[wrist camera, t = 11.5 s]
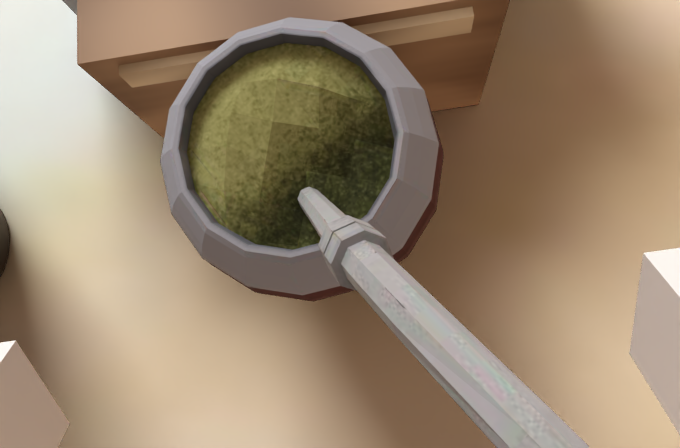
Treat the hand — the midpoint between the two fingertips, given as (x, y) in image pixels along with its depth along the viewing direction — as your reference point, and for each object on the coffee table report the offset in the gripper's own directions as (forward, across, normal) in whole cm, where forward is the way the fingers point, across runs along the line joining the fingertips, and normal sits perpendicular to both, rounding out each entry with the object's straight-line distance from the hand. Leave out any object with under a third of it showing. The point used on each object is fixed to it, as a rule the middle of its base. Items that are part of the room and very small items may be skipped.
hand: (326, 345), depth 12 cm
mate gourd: (+9, 0, -1) cm, 9 cm away
